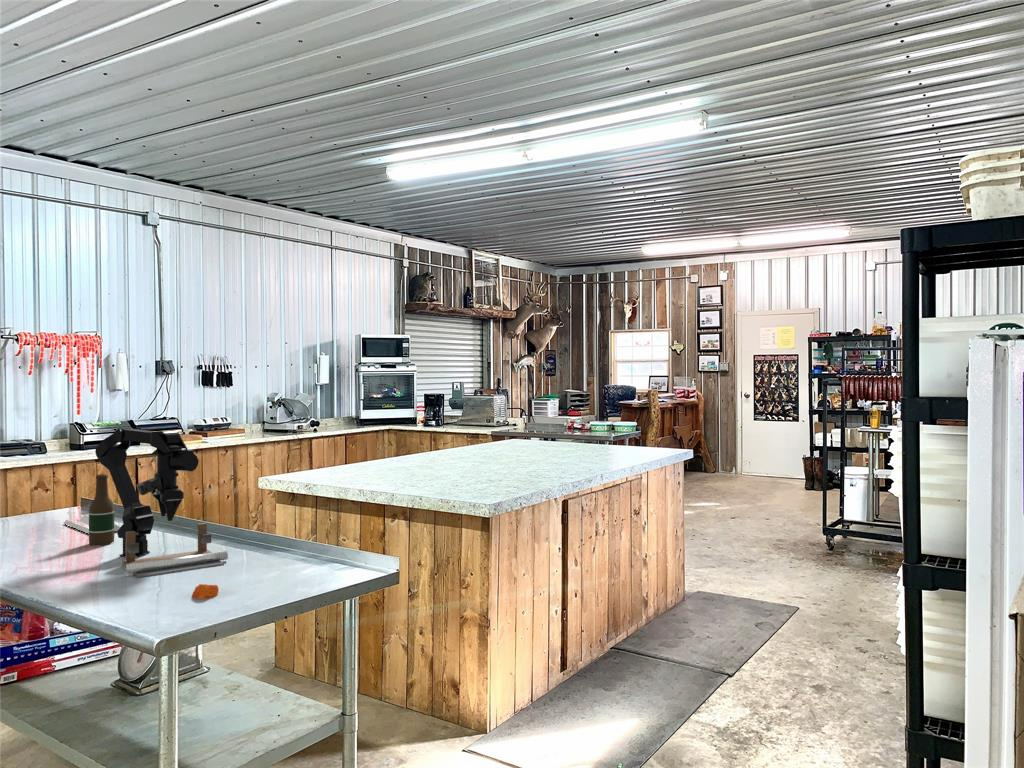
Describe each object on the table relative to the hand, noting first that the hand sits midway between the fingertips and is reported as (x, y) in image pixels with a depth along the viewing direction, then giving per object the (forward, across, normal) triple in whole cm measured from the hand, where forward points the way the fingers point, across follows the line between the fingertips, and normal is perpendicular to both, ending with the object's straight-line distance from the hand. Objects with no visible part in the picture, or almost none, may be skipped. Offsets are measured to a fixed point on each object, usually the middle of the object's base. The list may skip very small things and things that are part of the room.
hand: (166, 518), depth 228 cm
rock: (+13, +49, 0) cm, 51 cm away
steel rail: (+12, +15, 0) cm, 19 cm away
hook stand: (+13, +4, 0) cm, 13 cm away
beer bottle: (+14, -37, -13) cm, 41 cm away
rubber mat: (+13, +15, 0) cm, 20 cm away
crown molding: (+14, -69, -12) cm, 72 cm away
